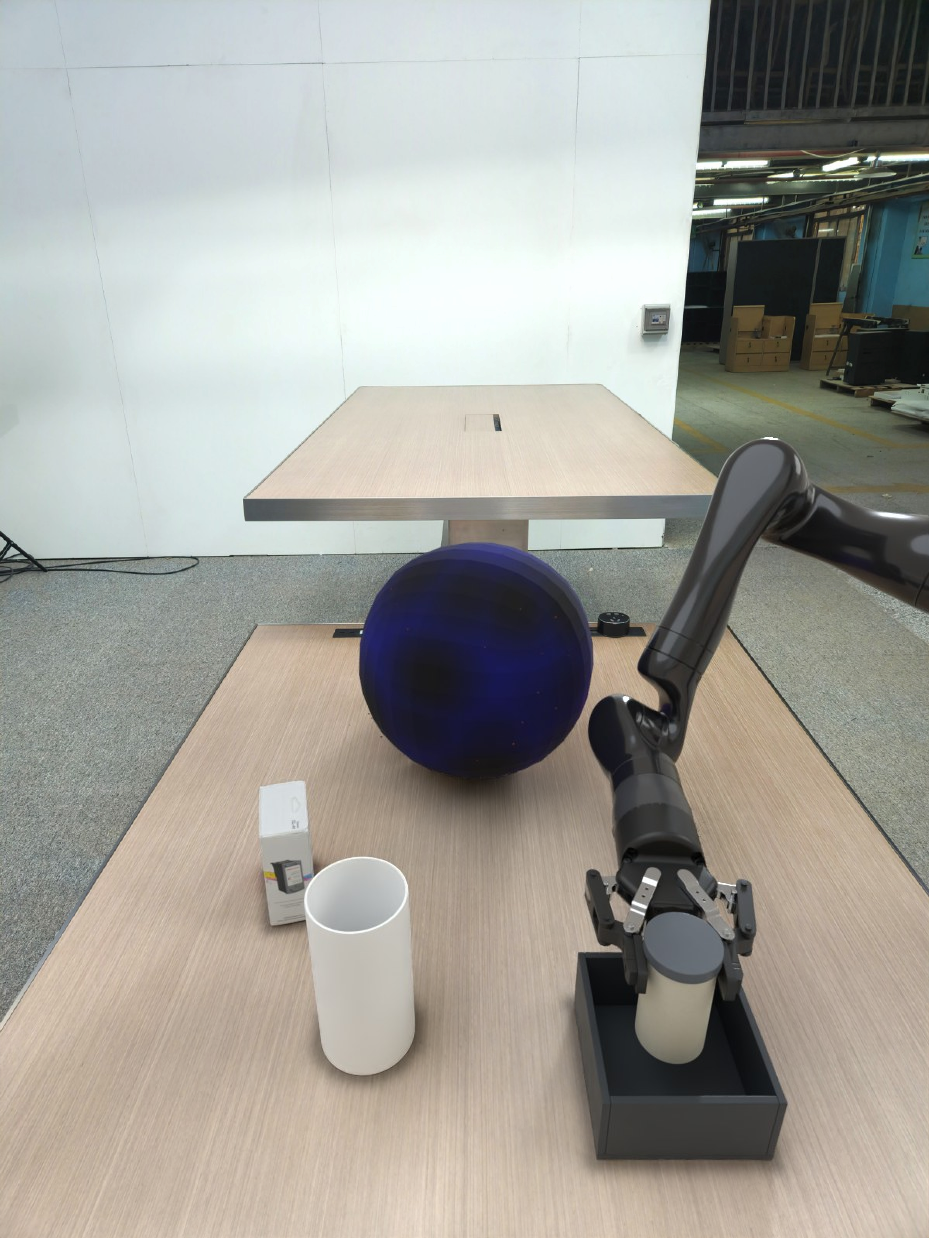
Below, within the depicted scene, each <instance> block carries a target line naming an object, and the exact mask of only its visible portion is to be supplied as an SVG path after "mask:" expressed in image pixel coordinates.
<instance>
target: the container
mask: <svg viewBox="0 0 929 1238" xmlns="http://www.w3.org/2000/svg"><path fill="white" fill-rule="evenodd" d="M643 950H644V953H645V957H646V964H647V971H648V982H647V989H646V994H639V997H638V1004H637V1012H636V1020H635V1031H636V1035H637V1037H638V1040H639V1041H640V1043H641V1045H642V1046H643V1047H644V1048H645V1049H646V1051H648V1052H649V1053H650V1054H651V1055H652V1056H654V1057H655V1058H657V1059H659V1060H661V1061H664V1062H667V1063H672V1064H683V1063H687V1062H690V1061H692V1060H694V1059H695V1058H697V1057H698V1056H699V1054H700V1053H701V1051H702V1049H703V1046H704V1042H705V1036H706V1031H707V1026H708V1021H709V1015H710V1010H711V1005H712V1000H713V995H714V989H715V984H716V979H717V974H718V973H719V971H720V970H721V967H722V963H723V958H724V946H723V943H722V940H721V938H720V936H719V935H718V933H717V932H716V931H715V930H714V929H713V928H712V927H711V926H710V925H709V924H708V923H706V922H705V921H703V920H701V919H700V918H697V917H695V916H693V915H690V914H686V913H680V912H668V913H663V914H660V915H658V916H656V917H654V918H653V919H652V920H650V922H649V923H648V924H647V926H646V928H645V930H644V937H643Z"/></svg>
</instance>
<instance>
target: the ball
mask: <svg viewBox="0 0 929 1238" xmlns="http://www.w3.org/2000/svg"><path fill="white" fill-rule="evenodd" d="M502 531H503V532H504V531H505V529H502ZM363 623H364V624H363V628H362V631H361V636H360V640H359V656H358V657H359V658H358V677H359V683H360V688H361V693H362V696H363V698H364V701H365V704H366V706H367V708H368V711H369V712H368V713H367V715H371V718H370V719H372V720H373V721H374V723H375V725H376V726H377V727H378V729H379V731H380V732H381V733H382V735H383V736H384V737H385V738H386V739H387V740H388V741H389V742H390V744H391V745H393V746H394V748H396V750H398V751H399V752H400V753H401V754H403V755H404V756H405V757H407V758H408V759H409V760H411V761H412V762H414V763H415V764H418V765H420V766H421V767H424V768H425V769H427V770H429V771H433V772H436V773H437V774H438V773H439V774H441V775H446V776H448V777H454V778H458V779H459V778H461V779H470V780H471V779H472V780H483V779H496V778H498V779H499V778H502V777H505V776H508V775H513V774H517V773H519V772H521V771H523V770H526V769H528V768H531V767H532V766H534V765H536V764H538V763H540V762H542V761H543V760H545V758H546V757H548V756H549V755H550V754H552V753H553V752H554V751H555V750H556V749H557V748H559V747H560V746H561V745H562V744H563V743H564V742H565V740H566V739H567V737H568V736H569V735H570V733H571V732H572V730H573V729H574V728H575V726H576V725H577V723H578V721H579V719H580V717H581V715H582V713H583V710H584V708H585V705H586V703H587V700H588V697H589V693H590V688H591V682H592V676H593V670H594V666H595V665H594V663H595V662H594V642H593V637H592V633H591V629H590V624H589V620H588V615H587V613H586V610H585V609H584V605H583V604H582V601H581V599H580V597H579V595H578V594H577V593H576V591H575V590H574V589H573V587H572V586H571V585H570V583H569V581H568V580H567V579H566V578H564V576H562V575H561V574H560V572H558V571H557V570H555V568H554V567H552V565H550V564H549V563H546V562H545V561H543V560H542V559H540V558H539V557H537V556H535V555H534V554H532V553H529V552H526V551H524V550H521V549H519V548H516V547H514V546H511V545H504V544H500V543H495V542H487V541H486V542H481V541H480V542H478V541H477V542H476V541H475V542H474V541H473V542H471V541H469V542H462V543H456V544H451V545H445V546H439V547H437V548H434V549H432V550H429V551H427V552H424V553H421V554H420V555H418V556H416V557H414V558H412V559H411V560H409V561H408V562H406V563H405V564H404V565H402V566H400V568H397V570H395V571H394V573H393V574H392V575H391V577H389V579H388V580H387V581H386V583H385V584H384V585H383V586H382V587H381V588H380V590H379V591H378V593H377V594H376V595H375V598H374V599H373V601H372V604H371V607H370V608H369V611H368V613H367V616H366V619H365V621H364V622H363ZM383 736H380V738H383Z"/></svg>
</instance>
